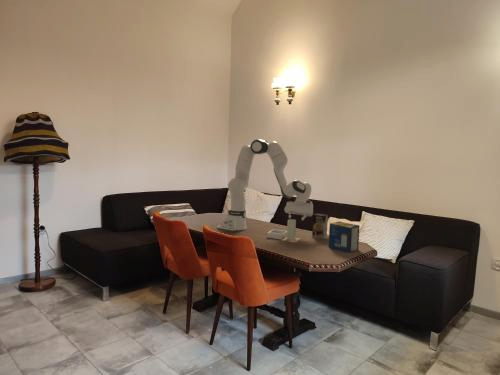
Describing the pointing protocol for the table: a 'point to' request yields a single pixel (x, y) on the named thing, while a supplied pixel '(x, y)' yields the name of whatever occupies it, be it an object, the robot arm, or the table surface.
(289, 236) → the green block
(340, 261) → the table surface
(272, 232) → the bin
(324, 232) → the coffee box
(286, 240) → the pad
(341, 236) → the protein box
